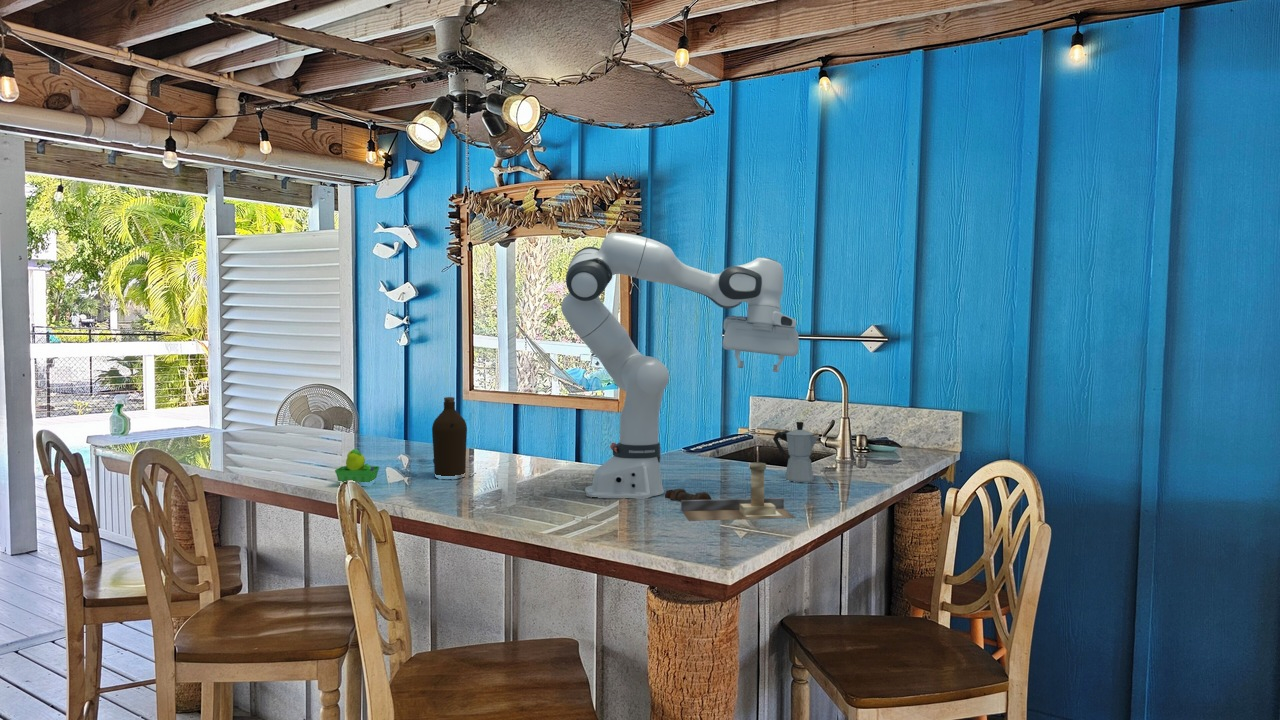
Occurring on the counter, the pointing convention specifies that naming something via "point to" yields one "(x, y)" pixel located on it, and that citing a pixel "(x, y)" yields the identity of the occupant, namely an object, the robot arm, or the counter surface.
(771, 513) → the stamp
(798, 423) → the coffee maker
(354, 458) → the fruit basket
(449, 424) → the olive oil
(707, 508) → the board
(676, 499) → the bolt
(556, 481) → the counter surface
